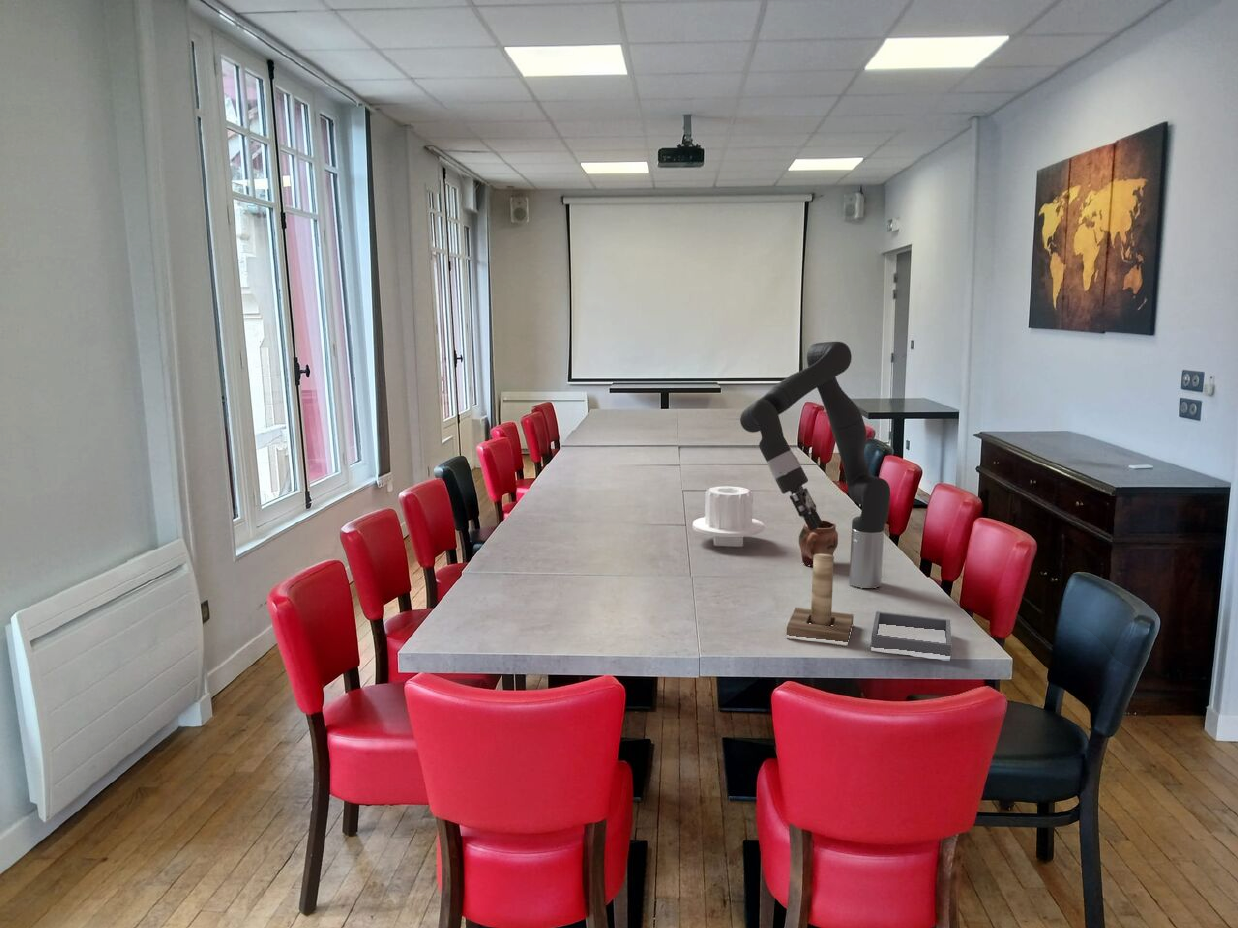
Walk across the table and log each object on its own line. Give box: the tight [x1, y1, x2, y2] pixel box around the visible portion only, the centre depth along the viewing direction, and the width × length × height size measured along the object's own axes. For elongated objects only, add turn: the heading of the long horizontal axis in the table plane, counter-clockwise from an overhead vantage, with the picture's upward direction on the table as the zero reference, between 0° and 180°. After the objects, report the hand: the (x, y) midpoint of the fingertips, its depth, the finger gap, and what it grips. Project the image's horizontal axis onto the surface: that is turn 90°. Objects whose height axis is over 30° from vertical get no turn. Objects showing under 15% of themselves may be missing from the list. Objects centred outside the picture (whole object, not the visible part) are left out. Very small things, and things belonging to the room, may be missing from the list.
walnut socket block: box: [786, 607, 855, 642], centre depth 219 cm, size 15×15×3 cm
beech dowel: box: [810, 554, 835, 626], centre depth 218 cm, size 5×5×20 cm
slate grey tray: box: [870, 610, 952, 657], centre depth 212 cm, size 18×18×4 cm
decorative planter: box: [798, 519, 839, 567], centre depth 275 cm, size 20×12×14 cm, turn 154°
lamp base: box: [692, 485, 765, 548], centre depth 301 cm, size 25×25×19 cm
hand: (816, 527), depth 221 cm, fingers open, 8 cm apart
